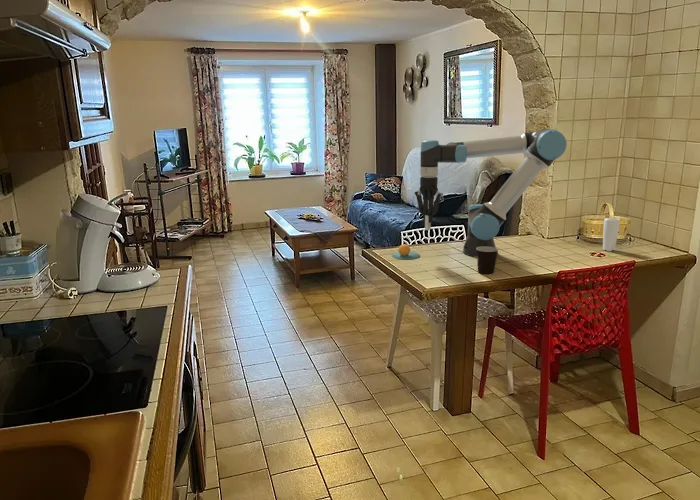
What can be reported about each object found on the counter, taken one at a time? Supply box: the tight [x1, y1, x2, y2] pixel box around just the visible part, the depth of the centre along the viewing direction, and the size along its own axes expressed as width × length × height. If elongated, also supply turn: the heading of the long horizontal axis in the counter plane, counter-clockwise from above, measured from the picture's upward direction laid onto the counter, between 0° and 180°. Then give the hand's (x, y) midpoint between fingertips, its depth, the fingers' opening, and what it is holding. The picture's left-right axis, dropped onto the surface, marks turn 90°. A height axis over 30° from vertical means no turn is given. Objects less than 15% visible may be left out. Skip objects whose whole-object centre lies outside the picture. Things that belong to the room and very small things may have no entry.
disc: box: [391, 251, 421, 261], centre depth 244 cm, size 13×13×1 cm
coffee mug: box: [476, 246, 499, 276], centre depth 218 cm, size 12×9×10 cm
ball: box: [397, 244, 411, 256], centre depth 244 cm, size 6×6×6 cm
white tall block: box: [602, 217, 621, 252], centre depth 246 cm, size 7×7×15 cm
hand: (427, 229), depth 234 cm, fingers closed
